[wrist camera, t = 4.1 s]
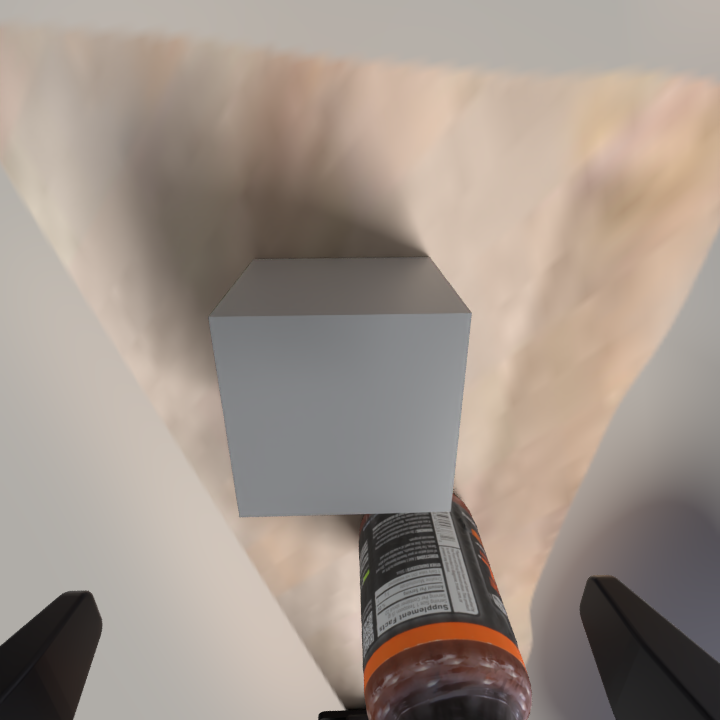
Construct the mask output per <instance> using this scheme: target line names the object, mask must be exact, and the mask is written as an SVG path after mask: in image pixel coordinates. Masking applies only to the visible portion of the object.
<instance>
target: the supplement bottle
mask: <svg viewBox="0 0 720 720" xmlns="http://www.w3.org/2000/svg"><path fill="white" fill-rule="evenodd" d="M359 561H360V590H361V621H362V648H363V672H364V695H365V702H366V710H367V715H368V719H369V720H527V719H528V717H529V714H530V710H531V706H532V694H531V693H532V691H531V684H530V681H529V677H528V674H527V671H526V668H525V665H524V662H523V660H522V657H521V654H520V652H519V649H518V645H517V641H516V639H515V636H514V633H513V630H512V627H511V625H510V622H509V619H508V616H507V613H506V610H505V608H504V605H503V602H502V599H501V596H500V594H499V591H498V588H497V585H496V582H495V580H494V576H493V574H492V571H491V568H490V564H489V562H488V559H487V556H486V553H485V550H484V548H483V545H482V541H481V538H480V535H479V533H478V529H477V526H476V524H475V522H474V520H473V518H472V515H471V513H470V511H469V510H468V508H467V507H466V505H465V504H464V503H463V502H462V501H461V500H460V499H459V498H458V497H456V495H455V494H452V503H451V512H423V513H384V514H365V515H364V516H363V519H362V522H361V525H360V533H359Z"/></svg>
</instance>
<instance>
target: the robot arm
mask: <svg viewBox="0 0 720 720" xmlns="http://www.w3.org/2000/svg"><path fill="white" fill-rule="evenodd" d="M580 615H581V619H582V623H583V626H584V629H585V632H586V635H587V638H588V640H589V643H590V646H591V649H592V652H593V655H594V658H595V661H596V664H597V667H598V670H599V673H600V676H601V679H602V682H603V685H604V688H605V691H606V694H607V697H608V700H609V703H610V705H611V708H612V711H613V714H614V716H615V718H616V720H720V663H719V662H718V661H717V660H715V659H714V658H713V657H712V656H711V655H709V654H708V653H707V652H706V651H705V650H703V649H702V648H701V647H700V646H698V645H697V644H696V643H695V642H694V641H692V640H691V639H690V638H689V637H688V636H686V635H685V634H684V633H683V632H682V631H680V630H679V629H678V628H677V627H675V626H674V625H673V624H672V623H670V622H669V621H668V620H667V619H666V618H664V617H663V616H662V615H661V614H660V613H658V612H657V611H656V610H655V609H654V608H652V607H651V606H650V605H649V604H648V603H646V602H645V601H644V600H643V599H641V598H640V597H639V596H638V595H637V594H635V593H634V592H633V591H632V590H631V589H629V588H628V587H627V586H626V585H625V584H623V583H622V582H621V581H620V580H618V579H617V578H615V577H614V576H610V575H593V576H590V577H589V578H588V580H587V583H586V586H585V589H584V593H583V596H582V600H581V603H580ZM101 632H102V618H101V616H100V613H99V610H98V608H97V605H96V602H95V600H94V597H93V595H92V593H91V592H89V591H68V592H65V593H63V594H62V595H60V596H59V597H58V598H56V599H55V600H54V601H53V602H52V603H51V604H49V605H48V606H47V607H46V608H45V609H43V610H42V611H41V612H40V613H39V614H38V615H36V616H35V617H34V618H33V619H32V620H30V621H29V622H28V623H27V624H26V625H24V626H23V627H22V628H21V629H20V630H19V631H17V632H16V633H15V634H14V635H13V636H11V637H10V638H9V639H8V640H7V641H6V642H4V643H3V644H2V645H1V646H0V720H73V718H74V715H75V712H76V709H77V706H78V703H79V700H80V697H81V694H82V691H83V688H84V685H85V682H86V679H87V676H88V673H89V670H90V667H91V663H92V660H93V657H94V654H95V651H96V648H97V645H98V642H99V639H100V636H101ZM318 720H369V719H368V715H367V710H345V711H324V712H321V713H320V714H319V717H318Z"/></svg>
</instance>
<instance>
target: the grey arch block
mask: <svg viewBox="0 0 720 720" xmlns="http://www.w3.org/2000/svg"><path fill="white" fill-rule="evenodd" d="M471 315H472V313H471V311H470V310H469V309H468V307H467V306H466V305H465V303H464V302H463V301H462V299H461V298H460V297H459V295H458V294H457V293H456V291H455V290H454V289H453V287H452V286H451V285H450V283H449V282H448V281H447V279H446V278H445V277H444V275H443V274H442V273H441V271H440V270H439V269H438V267H437V266H436V265H435V263H434V262H433V261H432V259H431V258H430V257H380V258H293V259H253V261H252V262H251V263H250V265H249V266H248V267H247V268H246V270H245V271H244V272H243V273H242V275H241V276H240V277H239V278H238V280H237V281H236V282H235V284H234V285H233V286H232V287H231V289H230V290H229V291H228V292H227V294H226V295H225V296H224V298H223V299H222V300H221V301H220V303H219V304H218V305H217V306H216V308H215V309H214V310H213V311H212V313H211V314H210V315H209V317H208V319H209V325H210V332H211V338H212V345H213V351H214V357H215V364H216V370H217V376H218V383H219V389H220V396H221V402H222V408H223V415H224V421H225V428H226V434H227V440H228V447H229V453H230V459H231V466H232V472H233V479H234V485H235V491H236V498H237V504H238V511H239V517H267V516H306V515H345V514H384V513H423V512H451V503H452V494H453V484H454V475H455V466H456V456H457V447H458V437H459V428H460V418H461V409H462V400H463V390H464V381H465V371H466V362H467V353H468V343H469V334H470V324H471Z"/></svg>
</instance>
